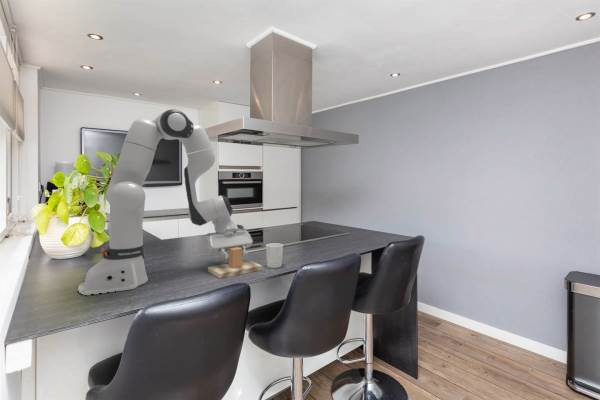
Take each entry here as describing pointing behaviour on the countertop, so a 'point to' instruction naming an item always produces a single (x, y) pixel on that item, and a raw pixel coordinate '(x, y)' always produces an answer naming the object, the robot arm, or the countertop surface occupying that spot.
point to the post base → (234, 269)
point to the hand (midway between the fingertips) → (236, 256)
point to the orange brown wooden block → (235, 257)
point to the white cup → (274, 255)
